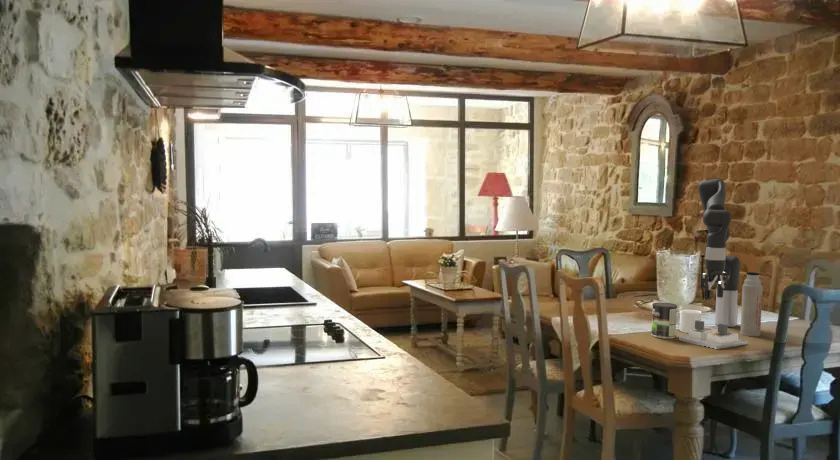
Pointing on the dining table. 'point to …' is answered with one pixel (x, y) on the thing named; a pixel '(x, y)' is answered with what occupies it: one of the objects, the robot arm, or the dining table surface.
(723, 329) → the breaker handle
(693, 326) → the mug
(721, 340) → the breaker panel
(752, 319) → the thermos bottle
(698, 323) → the on breaker handle
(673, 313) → the coffee can
